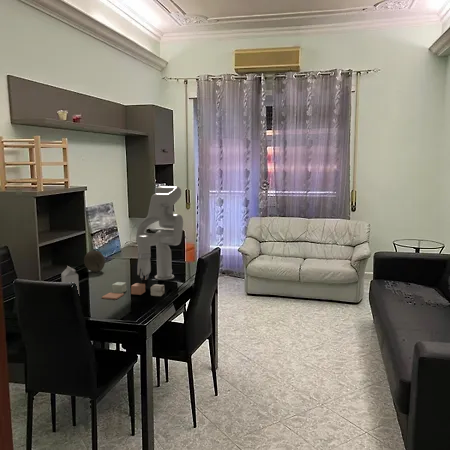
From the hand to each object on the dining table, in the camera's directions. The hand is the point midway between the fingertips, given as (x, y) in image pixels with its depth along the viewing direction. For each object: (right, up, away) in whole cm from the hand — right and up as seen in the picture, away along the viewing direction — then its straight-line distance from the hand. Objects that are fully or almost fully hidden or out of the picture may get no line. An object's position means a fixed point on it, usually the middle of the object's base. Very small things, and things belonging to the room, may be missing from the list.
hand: (145, 285), depth 273 cm
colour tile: (-15, -4, -16) cm, 23 cm away
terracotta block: (-2, -3, -9) cm, 10 cm away
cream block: (+9, -3, -12) cm, 15 cm away
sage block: (-14, -3, -6) cm, 15 cm away
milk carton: (-37, -5, -23) cm, 44 cm away
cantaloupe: (-42, +4, +42) cm, 59 cm away
